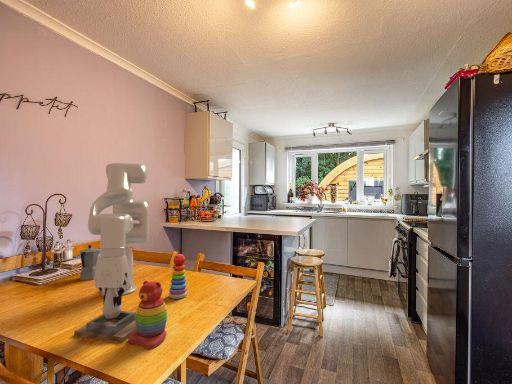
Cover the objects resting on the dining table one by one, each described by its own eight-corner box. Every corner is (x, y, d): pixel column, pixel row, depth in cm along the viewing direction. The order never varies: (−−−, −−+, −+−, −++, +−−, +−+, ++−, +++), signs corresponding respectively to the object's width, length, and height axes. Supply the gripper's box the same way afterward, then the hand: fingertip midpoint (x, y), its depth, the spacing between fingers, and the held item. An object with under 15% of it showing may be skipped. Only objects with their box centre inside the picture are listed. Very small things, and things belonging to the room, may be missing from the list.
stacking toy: (182, 300, 115) (182, 256, 115) (165, 298, 116) (165, 255, 117) (190, 293, 123) (190, 252, 123) (174, 292, 124) (174, 252, 124)
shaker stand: (74, 335, 86) (74, 323, 86) (102, 318, 97) (102, 307, 97) (123, 342, 82) (123, 329, 82) (146, 324, 94) (146, 312, 94)
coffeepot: (85, 274, 150) (86, 242, 151) (103, 274, 152) (104, 242, 152) (71, 283, 135) (71, 248, 135) (91, 283, 137) (91, 247, 137)
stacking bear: (124, 342, 82) (125, 284, 82) (149, 327, 91) (150, 275, 92) (151, 350, 78) (151, 289, 78) (174, 334, 87) (175, 279, 87)
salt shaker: (101, 321, 86) (102, 280, 86) (102, 314, 91) (103, 276, 91) (121, 317, 88) (122, 278, 89) (121, 311, 94) (122, 273, 94)
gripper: (83, 253, 88) (82, 309, 88) (126, 255, 85) (126, 314, 84) (100, 249, 95) (100, 300, 95) (141, 251, 92) (141, 304, 92)
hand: (112, 306), depth 90 cm, fingers closed on salt shaker, 3 cm apart
